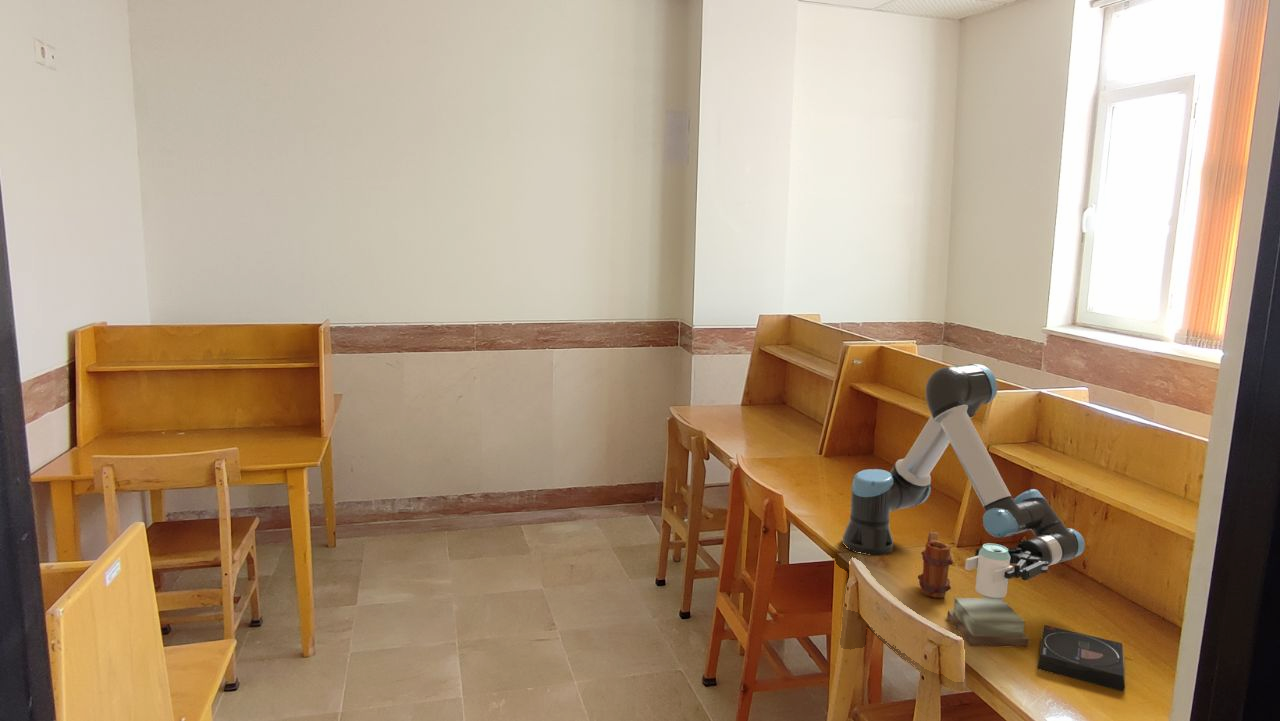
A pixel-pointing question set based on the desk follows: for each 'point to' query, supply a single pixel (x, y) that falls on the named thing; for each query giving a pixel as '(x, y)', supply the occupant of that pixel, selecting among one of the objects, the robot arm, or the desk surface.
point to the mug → (935, 567)
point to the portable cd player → (1082, 657)
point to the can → (991, 570)
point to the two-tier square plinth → (988, 622)
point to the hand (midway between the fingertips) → (980, 570)
